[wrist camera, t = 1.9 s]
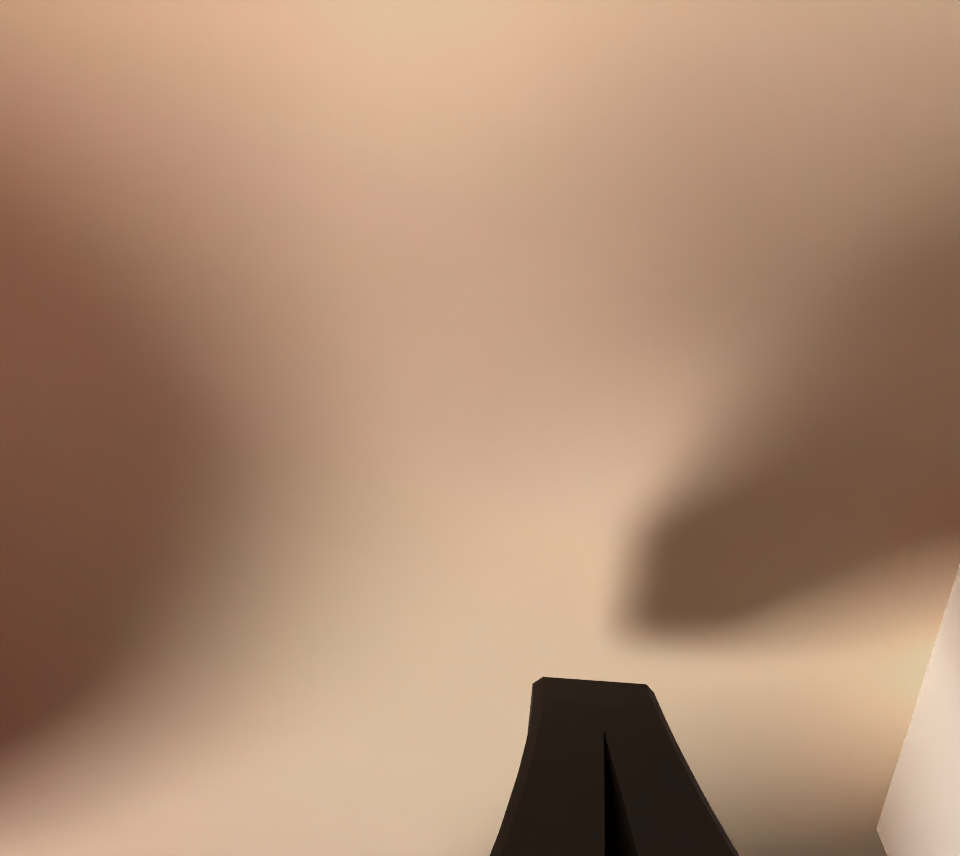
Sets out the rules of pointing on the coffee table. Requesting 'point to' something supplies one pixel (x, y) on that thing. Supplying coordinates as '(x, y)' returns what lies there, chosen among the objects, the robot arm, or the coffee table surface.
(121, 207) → the coffee table surface
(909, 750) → the carton
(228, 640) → the coffee table surface
